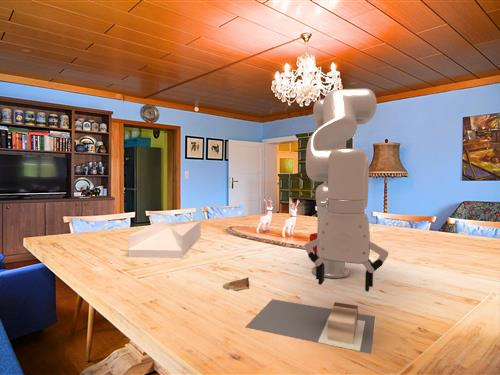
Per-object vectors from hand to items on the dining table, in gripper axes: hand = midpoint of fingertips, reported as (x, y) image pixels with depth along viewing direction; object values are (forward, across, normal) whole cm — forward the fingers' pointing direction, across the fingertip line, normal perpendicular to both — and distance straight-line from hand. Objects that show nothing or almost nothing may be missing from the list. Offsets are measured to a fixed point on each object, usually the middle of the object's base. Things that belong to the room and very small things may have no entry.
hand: (343, 286), depth 71 cm
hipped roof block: (+13, -88, +55) cm, 104 cm away
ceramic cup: (+12, -13, +61) cm, 64 cm away
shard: (+12, -34, +17) cm, 40 cm away
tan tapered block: (+10, 0, -1) cm, 10 cm away
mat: (+10, -7, +1) cm, 12 cm away
